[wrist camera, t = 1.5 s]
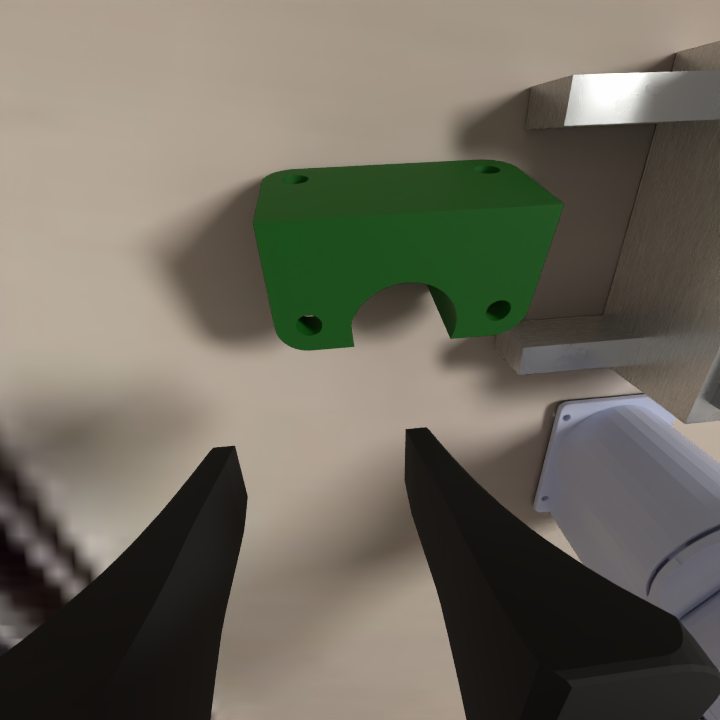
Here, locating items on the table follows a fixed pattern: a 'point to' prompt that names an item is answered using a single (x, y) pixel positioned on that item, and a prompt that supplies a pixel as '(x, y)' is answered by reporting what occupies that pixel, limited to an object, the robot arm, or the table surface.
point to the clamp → (401, 244)
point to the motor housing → (648, 240)
